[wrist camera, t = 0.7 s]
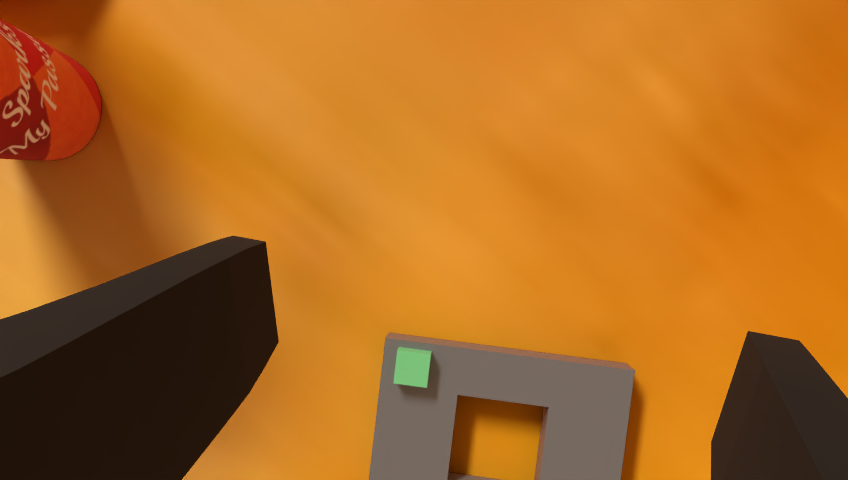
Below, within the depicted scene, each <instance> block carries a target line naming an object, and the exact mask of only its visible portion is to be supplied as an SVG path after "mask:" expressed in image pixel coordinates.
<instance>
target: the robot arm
mask: <svg viewBox="0 0 848 480" xmlns="http://www.w3.org/2000/svg"><path fill="white" fill-rule="evenodd" d="M278 342H279V341H278V334H277V326H276V318H275V310H274V303H273V295H272V287H271V280H270V272H269V264H268V256H267V249H266V242H264V241H259V240H253V239H248V238H243V237H237V236H230V237H227V238H223V239H219V240H216V241H213V242H210V243H207V244H204V245H202V246H199V247H196V248H193V249H191V250H188V251H185V252H183V253H180V254H177V255H175V256H172V257H170V258H167V259H165V260H162V261H160V262H157V263H154V264H152V265H149V266H147V267H144V268H142V269H139V270H137V271H134V272H131V273H129V274H126V275H124V276H121V277H119V278H116V279H114V280H111V281H108V282H106V283H103V284H101V285H98V286H95V287H92V288H90V289H87V290H84V291H81V292H78V293H76V294H73V295H70V296H67V297H65V298H62V299H59V300H56V301H53V302H51V303H48V304H45V305H42V306H39V307H37V308H34V309H31V310H28V311H25V312H22V313H19V314H16V315H13V316H10V317H7V318H3V319H0V480H182V479H183V477H184V476H185V475H186V474H187V472H188V471H189V470H190V468H191V467H192V466H193V465H194V463H195V462H196V461H197V460H198V458H199V457H200V456H201V454H202V453H203V452H204V451H205V449H206V448H207V447H208V446H209V444H210V443H211V442H212V441H213V439H214V438H215V437H216V435H217V434H218V433H219V432H220V430H221V429H222V428H223V426H224V425H225V424H226V423H227V421H228V420H229V419H230V417H231V416H232V415H233V414H234V412H235V411H236V410H237V408H238V407H239V406H240V404H241V403H242V402H243V400H244V399H245V398H246V396H247V395H248V394H249V392H250V391H251V389H252V387H253V386H254V384H255V382H256V381H257V379H258V378H259V376H260V374H261V373H262V371H263V369H264V367H265V366H266V364H267V362H268V360H269V358H270V357H271V355H272V353H273V351H274V349H275V347H276V346H277V344H278ZM711 480H848V398H847V397H846V396H845V395H844V393H843V392H842V391H841V390H840V389H839V387H838V386H837V385H836V384H835V382H834V381H833V380H832V379H831V378H830V376H829V375H828V374H827V373H826V372H825V370H824V369H823V368H822V367H821V366H820V364H819V363H818V362H817V361H816V360H815V358H814V357H813V356H812V355H811V354H810V352H809V351H808V350H807V349H806V348H805V347H804V346H803V344H802V343H801V342H800V341H799V340H793V339H788V338H783V337H777V336H772V335H766V334H761V333H756V332H750V331H748V333H747V336H746V339H745V342H744V345H743V348H742V351H741V354H740V357H739V360H738V363H737V366H736V369H735V372H734V375H733V378H732V381H731V384H730V387H729V390H728V393H727V396H726V399H725V402H724V405H723V408H722V411H721V414H720V417H719V420H718V423H717V426H716V429H715V432H714V435H713V438H712V441H711Z"/></svg>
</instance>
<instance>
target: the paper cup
mask: <svg viewBox="0 0 848 480" xmlns="http://www.w3.org/2000/svg"><path fill="white" fill-rule="evenodd" d="M101 112H102V104H101V97H100V93H99V89H98V87H97V85H96V82H95V81H94V79H93V77H92V76H91V75H90V73H89V72H88V71H87V70H86V69H85V68H84V67H83V66H82V65H80V64H79V63H78V62H76V61H75V60H73V59H72V58H70V57H68V56H67V55H65V54H63V53H61V52H60V51H58V50H56V49H54V48H53V47H51V46H49V45H47V44H45V43H44V42H42V41H40V40H38V39H36V38H34V37H32V36H31V35H29V34H27V33H25V32H23V31H21V30H19V29H18V28H16V27H14V26H12V25H10V24H8V23H6V22H5V21H3V20H1V19H0V159H18V160H58V159H63V158H67V157H69V156H72V155H74V154H76V153H77V152H79V151H80V150H82V149H83V148H84V147H85V146H86V145H87V144H88V143H89V142H90V140H91V139H92V138H93V136H94V135H95V133H96V131H97V128H98V126H99V123H100V119H101Z"/></svg>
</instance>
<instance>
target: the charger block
mask: <svg viewBox="0 0 848 480" xmlns="http://www.w3.org/2000/svg"><path fill="white" fill-rule="evenodd" d="M634 374H635V370H634V369H633V368H632V367H630V366H629V365H628V364H627V363H619V362H611V361H603V360H596V359H588V358H580V357H573V356H565V355H557V354H550V353H542V352H534V351H526V350H519V349H511V348H503V347H496V346H488V345H480V344H473V343H465V342H457V341H449V340H442V339H434V338H426V337H419V336H411V335H403V334H396V333H389V334H388V335H387V337H386V339H385V347H384V356H383V364H382V373H381V381H380V390H379V398H378V406H377V415H376V423H375V432H374V440H373V449H372V457H371V466H370V474H369V480H499V479H492V478H485V477H478V476H471V475H464V474H457V473H450V472H448V470H449V462H450V453H451V445H452V437H453V429H454V421H455V412H456V404H457V396H458V395H462V396H469V397H477V398H484V399H492V400H499V401H506V402H514V403H521V404H529V405H536V406H544V409H543V417H542V425H541V433H540V441H539V448H538V456H537V464H536V472H535V480H621V473H622V466H623V458H624V450H625V443H626V435H627V427H628V420H629V412H630V404H631V397H632V389H633V381H634Z"/></svg>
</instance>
